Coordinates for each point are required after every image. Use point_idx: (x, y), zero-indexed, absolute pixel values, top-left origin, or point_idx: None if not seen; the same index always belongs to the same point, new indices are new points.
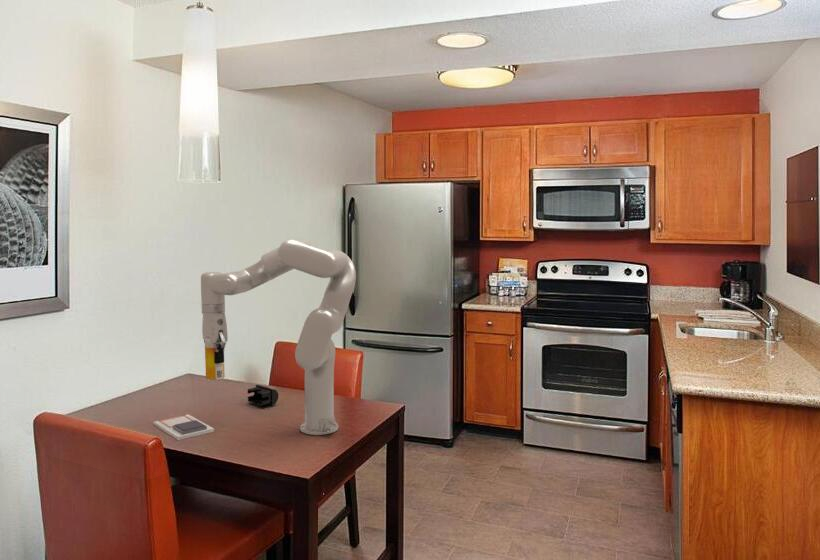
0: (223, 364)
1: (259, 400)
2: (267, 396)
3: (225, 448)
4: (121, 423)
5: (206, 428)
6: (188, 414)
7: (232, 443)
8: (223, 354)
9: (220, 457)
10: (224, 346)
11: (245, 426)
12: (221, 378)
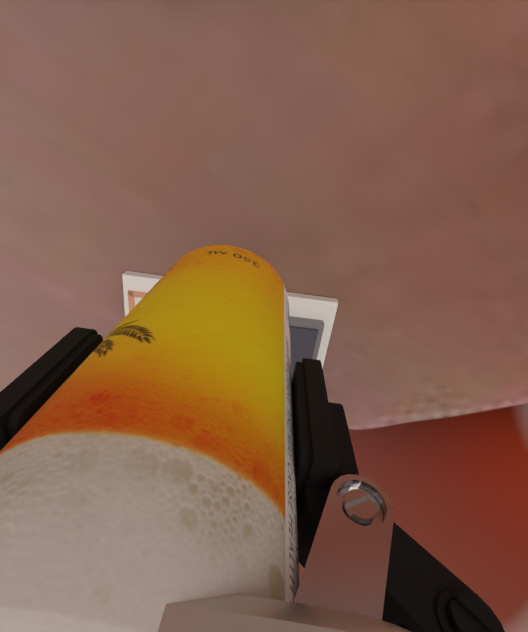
0: (275, 321)
1: None
2: None
3: (487, 356)
4: None
5: (323, 322)
6: (123, 274)
7: (477, 322)
8: (329, 424)
9: (523, 397)
10: (493, 622)
11: (388, 189)
12: (288, 301)
